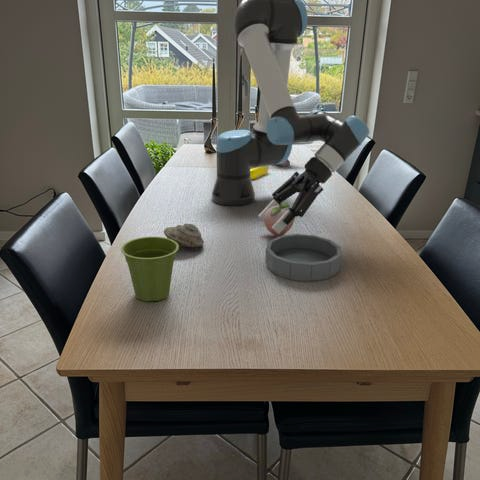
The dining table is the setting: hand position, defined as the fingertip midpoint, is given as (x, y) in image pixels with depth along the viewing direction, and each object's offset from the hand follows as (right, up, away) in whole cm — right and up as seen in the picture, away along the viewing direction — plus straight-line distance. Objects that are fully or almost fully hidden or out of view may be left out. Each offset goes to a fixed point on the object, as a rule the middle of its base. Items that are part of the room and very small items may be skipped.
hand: (268, 224), depth 131 cm
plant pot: (-27, -16, -29) cm, 43 cm away
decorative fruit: (+3, -3, +3) cm, 5 cm away
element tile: (-6, +23, +67) cm, 71 cm away
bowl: (+8, -10, -15) cm, 19 cm away
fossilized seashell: (-23, -7, -6) cm, 25 cm away
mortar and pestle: (+10, +30, +82) cm, 88 cm away
